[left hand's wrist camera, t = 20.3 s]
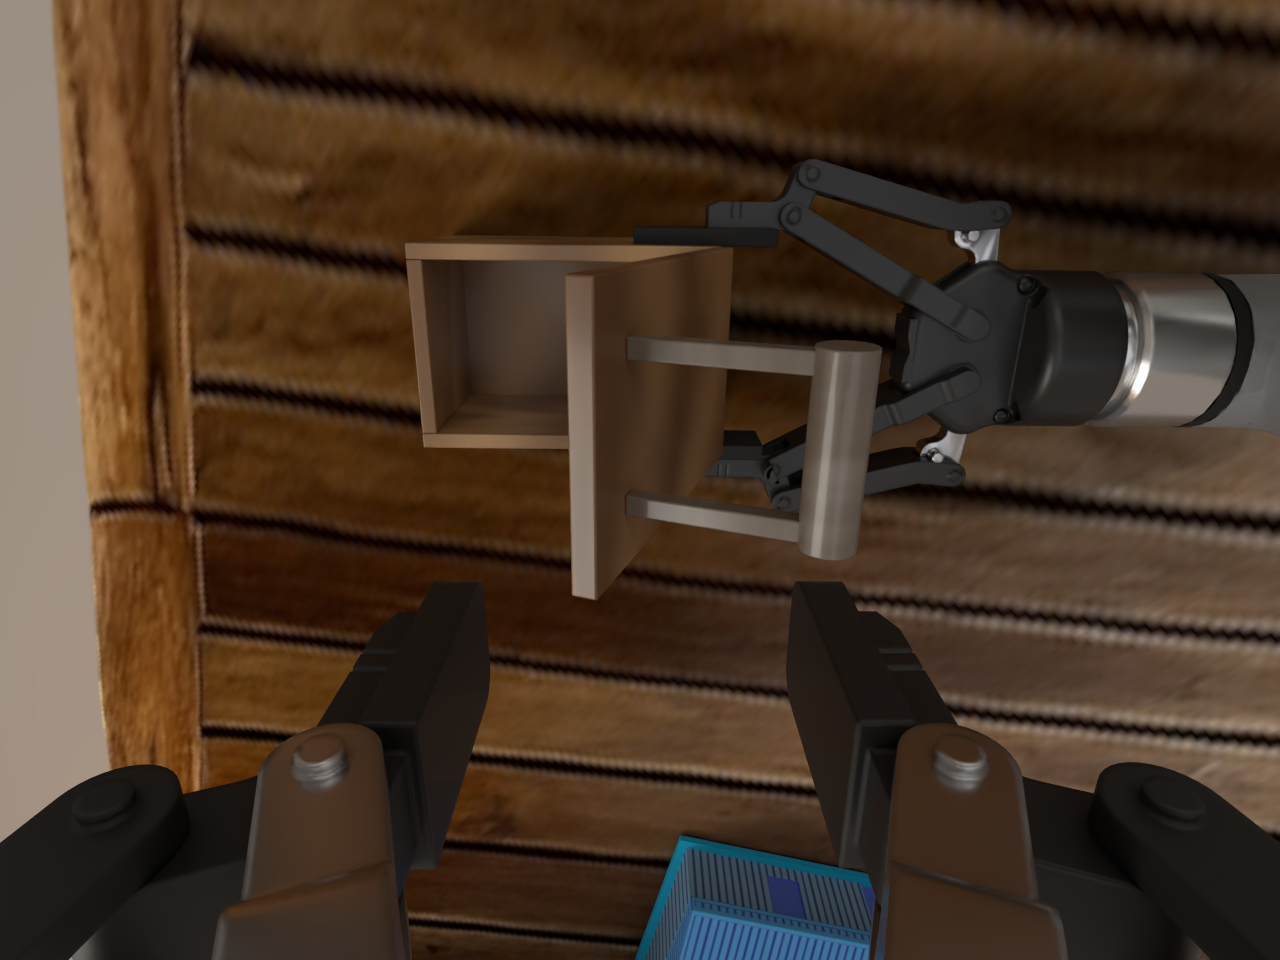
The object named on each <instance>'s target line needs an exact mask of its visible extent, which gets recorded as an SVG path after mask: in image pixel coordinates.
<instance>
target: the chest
mask: <svg viewBox="0 0 1280 960" xmlns="http://www.w3.org/2000/svg"><path fill="white" fill-rule="evenodd" d="M713 247H721V246H711V245H634V237H569V236H489V235H449V236H443V237H437V238H431V239H425V240H419V241H413V242H407V243H405V252H406V258H407V259H408V260H407V261H406V263H407V274H408V284H409V295H410V305H411V316H412V326H413V337H414V348H415V358H416V369H417V379H418V390H419V400H420V411H421V422H422V432H423V444H424V447H433V448H520V449H569V443H568V399H567V355H566V312H565V275H566V274H568V273H573V272H579V271H584V270H590V269H596V268H601V267H607V266H613V265H618V264H624V263H629V262H635V261H641V260H646V259H652V258H657V257H663V256H669V255H674V254H680V253H685V252H691V251H697V250H702V249H708V248H713Z"/></svg>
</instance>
